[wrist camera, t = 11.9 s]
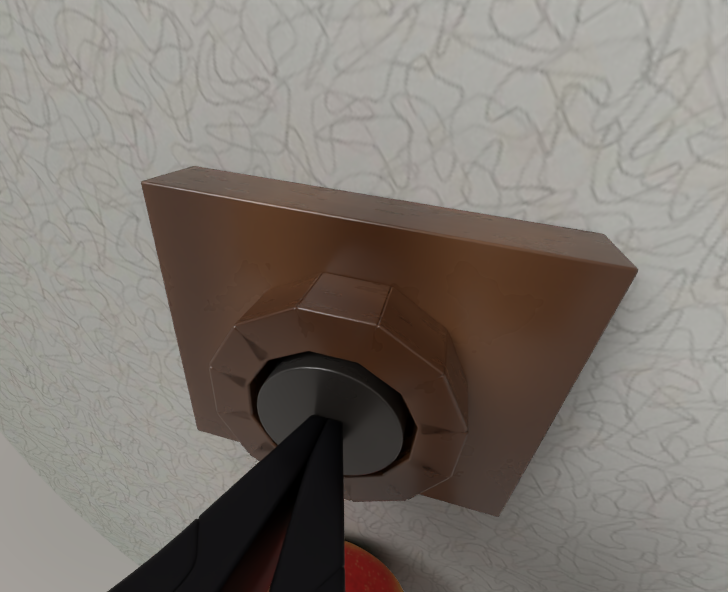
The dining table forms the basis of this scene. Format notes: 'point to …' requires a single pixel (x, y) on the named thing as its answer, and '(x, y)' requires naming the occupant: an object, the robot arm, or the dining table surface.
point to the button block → (384, 318)
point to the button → (336, 407)
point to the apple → (367, 572)
